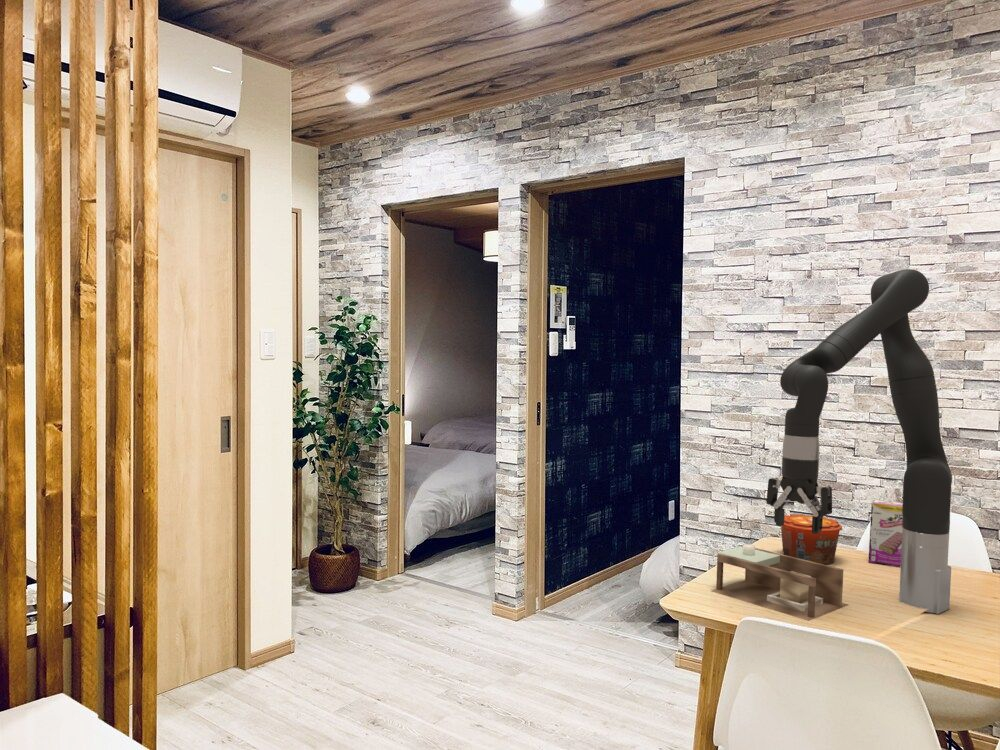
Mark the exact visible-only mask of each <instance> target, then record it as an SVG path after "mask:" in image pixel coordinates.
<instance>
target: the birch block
mask: <svg viewBox="0 0 1000 750" xmlns="http://www.w3.org/2000/svg"><path fill="white" fill-rule="evenodd" d="M791 572H793V571H791ZM793 573H797V572H793ZM797 574H801V573H797ZM801 575H805V574H801ZM805 576H809V575H805ZM809 577H811V576H809ZM808 591H809V586H808V585H804V584H801V583H797V582H793V581H789V580H786V579H782V578H781V580H780V598H783V599H786V600H790V601H793V602H797V603H800V604H802V603H804V602H807V601H808Z"/></svg>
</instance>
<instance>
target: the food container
mask: <svg viewBox="0 0 1000 750" xmlns="http://www.w3.org/2000/svg"><path fill="white" fill-rule="evenodd" d="M813 516H814V515H813V514H811V515H806V514H802V513H801V514H800V513H798V514H790V515H787V514H786V515H785V514H784V525H783V526H779V527H780V532H781V542H782V543H781V544H782V554H783V555H787V556H791V557H795V558H799V559H803V560H807V561H811V562H816V563H820V564H824V565H828V564H829V565H832V564H833V562H834V561H835V557H836V552H837V547H838V546H837V545H838V541H839V537H840V532H841V531H843V526H842V524H841V523H839V521H838V520H836V519H834V518H826V517H825V516H823V523H822V530H821V531H820V532H819V533H817V534H814V533H812V517H813ZM829 565H828V566H829Z"/></svg>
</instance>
